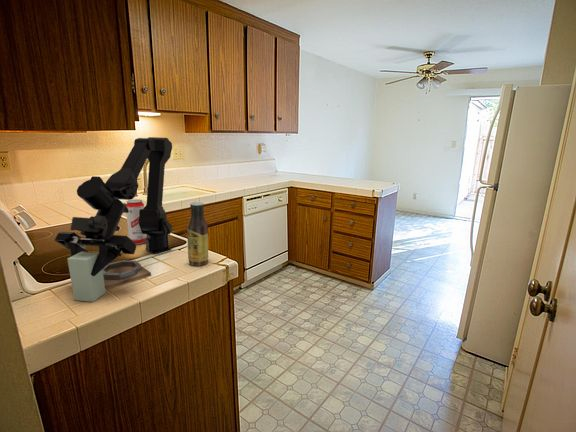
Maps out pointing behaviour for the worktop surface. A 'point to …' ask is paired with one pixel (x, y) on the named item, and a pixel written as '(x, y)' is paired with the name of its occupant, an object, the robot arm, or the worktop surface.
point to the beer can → (135, 221)
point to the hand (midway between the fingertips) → (82, 274)
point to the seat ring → (125, 274)
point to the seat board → (113, 283)
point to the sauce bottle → (197, 236)
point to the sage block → (85, 277)
